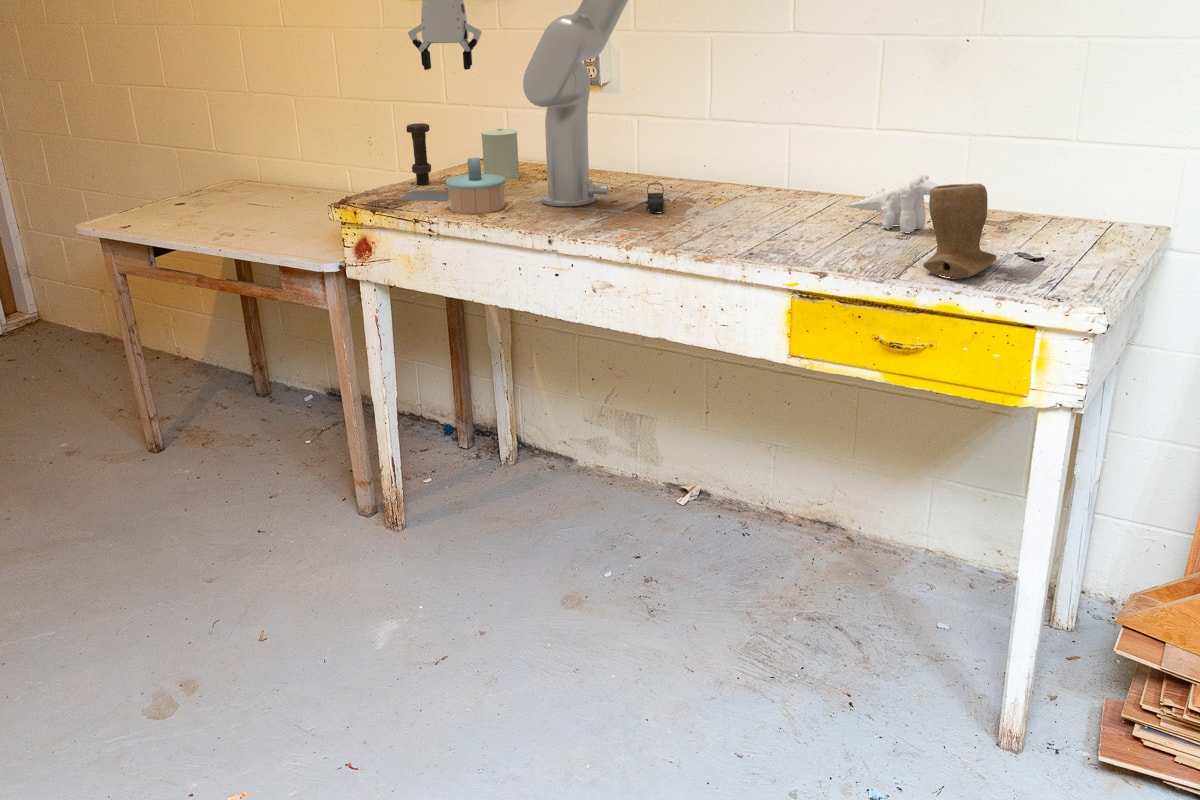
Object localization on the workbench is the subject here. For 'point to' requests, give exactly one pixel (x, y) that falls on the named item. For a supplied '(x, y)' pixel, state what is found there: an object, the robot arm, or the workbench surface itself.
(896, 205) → the white dinosaur figurine
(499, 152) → the can
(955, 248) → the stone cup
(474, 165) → the lid
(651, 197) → the reflex sight
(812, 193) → the workbench surface
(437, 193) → the mat
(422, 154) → the bolt
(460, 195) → the bowl
